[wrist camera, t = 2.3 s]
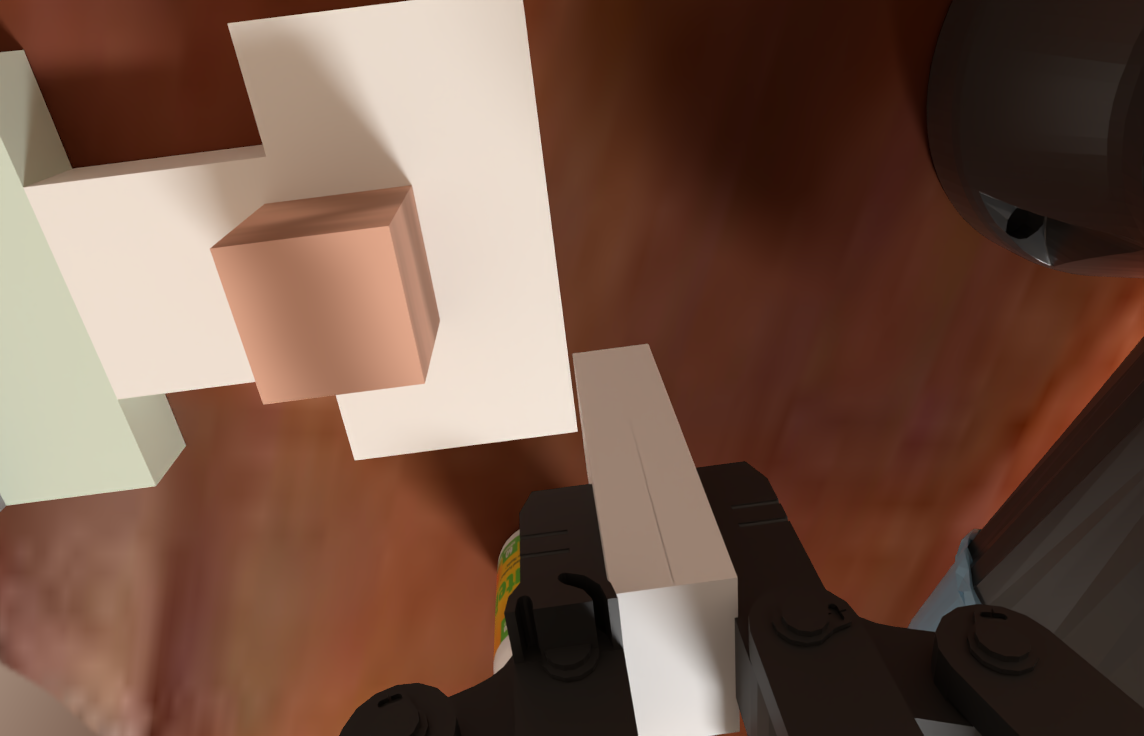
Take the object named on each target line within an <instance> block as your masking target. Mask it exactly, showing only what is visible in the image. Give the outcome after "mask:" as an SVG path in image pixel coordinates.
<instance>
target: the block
mask: <svg viewBox="0 0 1144 736" xmlns="http://www.w3.org/2000/svg"><path fill="white" fill-rule="evenodd" d="M210 251H211V254H212V257H213V260H214V263H215V266H216V269H217V271H218V274H219V277H220V280H221V283H222V286H223V289H224V292H225V295H226V298H227V301H228V303H229V306H230V309H231V312H232V315H233V318H234V321H235V324H236V327H237V330H238V332H239V335H240V338H241V341H242V344H243V347H244V350H245V353H246V356H247V359H248V361H249V364H250V367H251V370H252V373H253V376H254V379H255V382H256V385H257V388H258V391H259V393H260V396H261V399H262V402H263V404H271V403H279V402H286V401H294V400H302V399H310V398H318V397H325V396H333V395H341V394H349V393H356V392H364V391H372V390H380V389H387V388H395V387H403V386H411V385H419V384H425V381H426V377H427V373H428V369H429V365H430V360H431V356H432V352H433V348H434V344H435V340H436V336H437V332H438V328H439V323H440V317H439V312H438V308H437V303H436V298H435V293H434V288H433V284H432V279H431V274H430V269H429V264H428V260H427V255H426V250H425V245H424V240H423V236H422V231H421V226H420V221H419V216H418V212H417V207H416V202H415V197H414V192H413V188H412V185H409V186H401V187H393V188H385V189H377V190H369V191H361V192H354V193H346V194H338V195H330V196H322V197H314V198H306V199H298V200H290V201H283V202H275V203H267V204H264V205H263V206H261V207H260V208H259V209H258V210H256V211H255V212H254V213H253V214H251V215H250V216H249V217H248V218H247V219H245V220H244V221H243V222H242V223H240V224H239V225H238V226H237V227H236V228H234V229H233V230H232V231H231V232H229V233H228V234H227V235H226V236H224V237H223V238H222V239H221V240H220V241H218V242H217V243H216V244H215V245H213V246H212V247H211V248H210Z"/></svg>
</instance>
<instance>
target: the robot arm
mask: <svg viewBox="0 0 1144 736" xmlns="http://www.w3.org/2000/svg"><path fill="white" fill-rule="evenodd" d="M927 131H928V140H929V146H930V151H931V156H932V160H933V164H934V167H935V170H936V172H937V175H938V178H939V180H940V182H941V185H942V187H943V189H944V191H945V193H946V194H947V196H948V198H949V200H950V201H951V203H952V204H953V206H954V207H955V208H956V210H957V211H958V212H959V213H960V215H961V216H962V217H963V218H964V219H965V220H966V221H967V222H968V223H969V224H970V225H971V226H972V227H973V228H974V229H975V230H977V231H978V232H979V233H980V234H982V235H983V236H985V237H986V238H988V239H989V240H991V241H992V242H994V243H996V244H998V245H1000V246H1002V247H1004V248H1006V249H1008V250H1009V251H1011V252H1013V253H1015V254H1017V255H1019V256H1021V257H1023V258H1025V259H1027V260H1029V261H1031V262H1034V263H1036V264H1039V265H1041V266H1045V267H1048V268H1051V269H1054V270H1058V271H1063V272H1067V273H1072V274H1079V275H1087V276H1107V277H1129V278H1144V0H953V1H952V3H951V5H950V8H949V10H948V13H947V15H946V18H945V20H944V23H943V26H942V29H941V32H940V35H939V38H938V41H937V44H936V48H935V52H934V56H933V60H932V65H931V70H930V76H929V83H928V91H927ZM573 362H574V370H575V378H576V386H577V394H578V402H579V410H580V418H581V426H582V434H583V443H584V451H585V459H586V467H587V474H588V480H589V484H586V485H579V486H571V487H564V488H556V489H549V490H541V491H534V492H531V494H530V496H529V498H528V499H527V501H526V503H525V504H524V506H523V508H522V510H521V511H520V513H519V520H520V583H519V585H518V586H517V587H516V588H515V589H514V591H513V592H512V593H511V594H510V595H509V597H508V600H507V604H506V607H505V611H504V616H505V621H506V626H507V631H508V635H509V640H510V645H511V650H512V656H511V658H510V659H509V660H508V662H507V663H506V664H505V665H504V667H503V668H501V669H500V670H499V671H498V672H496V673H495V674H494V675H493V676H492V677H490V678H489V679H487V680H485V681H483V682H481V683H479V684H478V685H476V686H474V687H471V688H469V689H467V690H464V691H462V692H460V693H457V694H455V695H453V696H450V697H447V696H446V695H445V694H443V693H442V692H441V691H440V690H439V689H438V688H435V687H432V686H428V685H424V684H420V683H413V684H403V685H396V686H394V687H391V688H389V689H386V690H384V691H382V692H379V693H377V694H375V695H374V696H372V697H371V698H370V699H369V700H367V701H366V702H365V703H363V704H362V705H361V706H360V707H358V708H357V709H356V710H355V712H354V713H353V715H352V716H351V717H350V719H349V720H348V722H347V723H346V725H345V726H344V727H343V729H342V731H341V733H340V735H339V736H711V735H718V734H725V733H732V732H740V726H739V709H740V712H741V716H742V719H743V722H744V725H745V728H746V731H747V735H748V736H1144V337H1143V338H1142V339H1141V340H1140V342H1139V343H1138V344H1137V345H1136V346H1135V348H1134V349H1133V350H1132V351H1131V352H1130V354H1129V355H1128V356H1127V357H1126V359H1125V360H1124V361H1123V362H1122V363H1121V365H1120V366H1119V367H1118V368H1117V369H1116V371H1115V372H1114V373H1113V374H1112V375H1111V377H1110V378H1109V379H1108V380H1107V381H1106V383H1105V384H1104V385H1103V386H1102V388H1101V389H1100V390H1099V391H1098V392H1097V394H1096V395H1095V396H1094V397H1093V398H1092V400H1091V401H1090V402H1089V403H1088V404H1087V406H1086V407H1085V408H1084V409H1083V410H1082V412H1081V413H1080V414H1079V415H1078V416H1077V418H1076V419H1075V420H1074V421H1073V422H1072V423H1071V425H1070V426H1069V427H1068V428H1067V429H1066V431H1065V432H1064V433H1063V434H1062V435H1061V436H1060V438H1059V439H1058V440H1057V441H1056V442H1055V444H1054V445H1053V446H1052V447H1051V448H1050V450H1049V451H1048V452H1047V453H1046V454H1045V455H1044V457H1043V458H1042V459H1041V460H1040V461H1039V463H1038V464H1037V465H1036V466H1035V467H1034V468H1033V470H1032V471H1031V472H1030V473H1029V474H1028V476H1027V477H1026V478H1025V479H1024V480H1023V481H1022V483H1021V484H1020V485H1019V486H1018V487H1017V489H1016V490H1015V491H1014V492H1013V493H1012V494H1011V496H1010V497H1009V498H1008V499H1007V500H1006V502H1005V503H1004V504H1003V505H1002V506H1001V507H1000V509H999V510H998V511H997V512H996V513H995V515H994V516H993V517H992V518H991V519H990V521H989V522H988V523H987V524H986V525H985V526H984V528H983V529H973V530H972V531H971V532H970V533H969V534H967V535H966V536H965V537H964V538H963V539H962V540H961V543H960V546H959V549H958V552H957V555H956V556H955V563H954V564H953V565H952V567H951V568H950V569H949V571H948V572H947V573H946V575H945V576H944V578H943V579H942V580H941V582H940V583H939V584H938V586H937V587H936V588H935V590H934V591H933V592H932V594H931V595H930V596H929V598H928V599H927V600H926V602H925V603H924V604H923V606H922V607H921V608H920V610H919V611H918V612H917V614H916V615H915V617H914V618H913V619H912V621H911V623H910V625H909V626H908V628H900V627H893V626H888V625H883V624H878V623H874V622H871V621H869V620H866V619H864V618H861V617H859V616H858V615H857V614H856V613H855V612H854V610H853V609H852V608H851V607H850V606H849V604H848V603H847V602H846V601H844V600H842V599H841V598H839V597H837V596H836V595H834V594H832V593H831V592H829V591H827V590H826V589H825V588H824V586H823V584H822V582H821V580H820V578H819V576H818V575H817V573H816V571H815V569H814V567H813V565H812V563H811V561H810V559H809V557H808V555H807V553H806V552H805V550H804V548H803V546H802V544H801V542H800V540H799V538H798V536H797V534H796V532H795V530H794V529H793V527H792V525H791V523H790V521H788V519H787V515H786V513H785V511H784V509H783V507H782V506H781V504H779V502H778V498H777V496H776V494H775V492H774V490H773V488H772V486H771V485H770V483H769V481H768V479H767V478H766V477H765V476H764V475H762V474H761V473H760V472H758V471H757V470H756V469H754V468H753V467H752V466H751V465H749V464H748V463H747V462H745V461H744V462H736V463H729V464H721V465H714V466H706V467H699V468H695V465H694V462H693V460H692V457H691V454H690V452H689V449H688V447H687V444H686V441H685V439H684V436H683V434H682V431H681V428H680V426H679V423H678V420H677V418H676V415H675V413H674V410H673V407H672V405H671V402H670V400H669V397H668V394H667V392H666V389H665V386H664V384H663V381H662V379H661V376H660V373H659V371H658V368H657V366H656V363H655V360H654V358H653V355H652V352H651V350H650V347H649V345H648V344H643V345H635V346H628V347H620V348H612V349H605V350H597V351H589V352H582V353H574V354H573Z"/></svg>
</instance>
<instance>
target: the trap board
mask: <svg viewBox="0 0 1144 736" xmlns="http://www.w3.org/2000/svg"><path fill="white" fill-rule="evenodd" d="M227 24H228V27H229V31H230V34H231V38H232V41H233V45H234V48H235V51H236V55H237V58H238V62H239V65H240V69H241V72H242V75H243V79H244V82H245V86H246V89H247V93H248V96H249V99H250V103H251V106H252V110H253V113H254V117H255V120H256V123H257V127H258V130H259V134H260V137H261V141H262V144H263V145H255V146H247V147H239V148H232V149H224V150H216V151H208V152H200V153H192V154H184V155H176V156H168V157H160V158H152V159H144V160H136V161H129V162H121V163H113V164H105V165H97V166H89V167H81V168H73V169H72V167H71V164H70V162H69V159H68V157H67V155H66V152H65V150H64V147H63V145H62V142H61V140H60V137H59V135H58V133H57V130H56V128H55V125H54V123H53V120H52V118H51V116H50V113H49V111H48V108H47V106H46V103H45V101H44V99H43V96H42V94H41V91H40V89H39V86H38V84H37V81H36V79H35V77H34V74H33V72H32V69H31V67H30V64H29V62H28V60H27V57H26V55H25V52H24V50H18V51H8V52H0V511H1V510H2V509H3V508H4V507H5V506H6V505H14V504H22V503H29V502H37V501H45V500H53V499H60V498H68V497H76V496H83V495H91V494H99V493H107V492H114V491H122V490H130V489H138V488H145V487H153V486H157V484H158V483H159V481H160V480H161V479H162V477H163V476H164V475H165V473H166V472H167V471H168V469H169V468H170V467H171V465H172V464H173V463H174V461H175V460H176V459H177V457H178V456H179V454H180V453H181V452H182V450H183V449H184V448H185V446H186V444H185V442H184V440H183V437H182V435H181V432H180V430H179V427H178V425H177V423H176V420H175V418H174V415H173V413H172V410H171V408H170V405H169V403H168V401H167V398H166V396H165V393H171V392H179V391H187V390H195V389H202V388H210V387H218V386H226V385H233V384H241V383H249V382H255V379H254V376H253V373H252V370H251V367H250V364H249V361H248V359H247V356H246V353H245V350H244V347H243V344H242V341H241V338H240V335H239V332H238V330H237V327H236V324H235V321H234V318H233V315H232V312H231V309H230V306H229V303H228V301H227V298H226V295H225V292H224V289H223V286H222V283H221V280H220V277H219V274H218V271H217V269H216V266H215V263H214V260H213V257H212V254H211V251H210V248H211V247H212V246H213V245H215V244H216V243H217V242H218V241H220V240H221V239H222V238H223V237H224V236H226V235H227V234H228V233H229V232H231V231H232V230H233V229H234V228H236V227H237V226H238V225H239V224H240V223H242V222H243V221H244V220H245V219H247V218H248V217H249V216H250V215H251V214H253V213H254V212H255V211H256V210H258V209H259V208H260V207H261V206H263V205H264V204H267V203H275V202H283V201H290V200H298V199H306V198H314V197H322V196H330V195H338V194H346V193H354V192H361V191H369V190H377V189H385V188H393V187H401V186H409V185H412V188H413V192H414V197H415V202H416V207H417V212H418V216H419V221H420V226H421V231H422V236H423V240H424V245H425V250H426V255H427V260H428V264H429V269H430V274H431V279H432V284H433V288H434V293H435V298H436V303H437V308H438V312H439V317H440V323H439V328H438V332H437V336H436V340H435V344H434V348H433V352H432V356H431V360H430V365H429V369H428V373H427V377H426V381H425V384H419V385H411V386H403V387H395V388H387V389H380V390H372V391H364V392H356V393H349V394H341V395H336V398H337V401H338V404H339V408H340V411H341V415H342V418H343V422H344V425H345V428H346V432H347V435H348V439H349V442H350V446H351V449H352V452H353V456H354V459H355V460H362V459H369V458H377V457H385V456H393V455H400V454H408V453H416V452H424V451H431V450H439V449H447V448H454V447H462V446H470V445H478V444H485V443H493V442H501V441H509V440H516V439H524V438H532V437H540V436H547V435H555V434H563V433H570V432H578V431H577V423H576V415H575V407H574V399H573V392H572V384H571V376H570V368H569V360H568V352H567V344H566V336H565V329H564V321H563V313H562V305H561V297H560V289H559V281H558V273H557V265H556V258H555V250H554V242H553V234H552V226H551V218H550V210H549V202H548V194H547V187H546V179H545V171H544V163H543V155H542V147H541V139H540V131H539V123H538V116H537V108H536V100H535V92H534V84H533V76H532V68H531V60H530V52H529V45H528V37H527V29H526V21H525V13H524V5H523V0H410V1H402V2H394V3H386V4H378V5H370V6H362V7H354V8H346V9H338V10H330V11H322V12H314V13H306V14H298V15H290V16H282V17H274V18H266V19H258V20H250V21H242V22H234V23H227Z"/></svg>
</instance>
